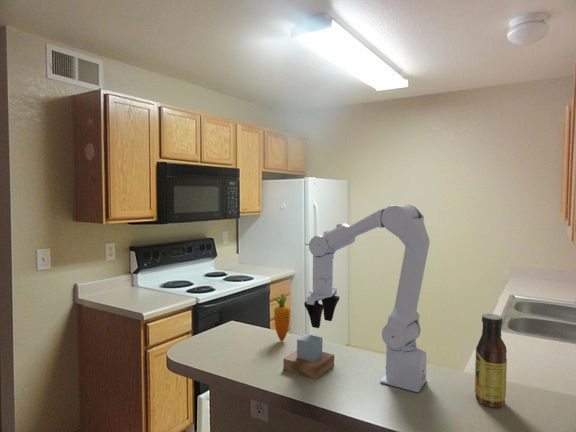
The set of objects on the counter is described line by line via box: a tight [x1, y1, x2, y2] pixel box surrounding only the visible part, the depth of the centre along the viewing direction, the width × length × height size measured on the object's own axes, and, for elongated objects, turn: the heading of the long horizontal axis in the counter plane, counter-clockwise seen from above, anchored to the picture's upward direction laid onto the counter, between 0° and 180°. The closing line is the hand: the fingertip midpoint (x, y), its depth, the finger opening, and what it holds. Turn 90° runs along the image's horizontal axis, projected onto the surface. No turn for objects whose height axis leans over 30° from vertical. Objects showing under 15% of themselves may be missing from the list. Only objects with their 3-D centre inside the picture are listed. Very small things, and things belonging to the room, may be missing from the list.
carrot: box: [273, 293, 291, 342], centre depth 127 cm, size 5×5×15 cm
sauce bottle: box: [474, 313, 508, 409], centre depth 90 cm, size 6×6×20 cm
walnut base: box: [283, 350, 335, 380], centre depth 108 cm, size 10×10×3 cm
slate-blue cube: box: [296, 333, 323, 362], centre depth 108 cm, size 5×5×5 cm
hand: (322, 323), depth 116 cm, fingers open, 7 cm apart
